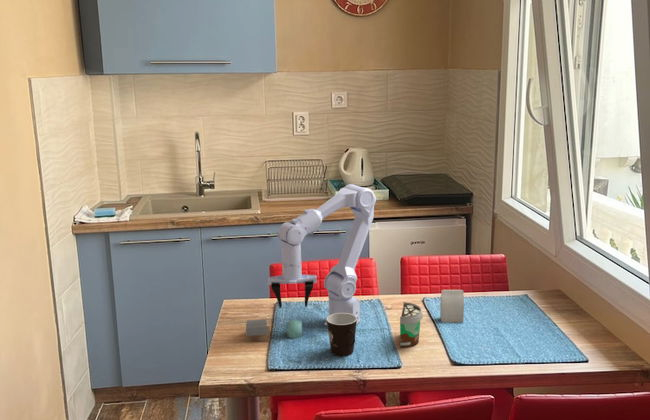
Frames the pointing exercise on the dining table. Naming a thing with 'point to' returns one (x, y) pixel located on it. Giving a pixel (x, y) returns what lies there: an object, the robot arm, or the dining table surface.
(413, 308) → the food container
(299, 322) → the green rounded cylinder
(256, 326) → the top block
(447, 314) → the grey rectangular block
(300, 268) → the robot arm
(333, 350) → the coffee mug
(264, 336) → the base block
